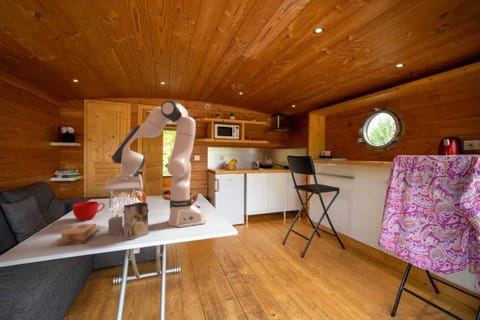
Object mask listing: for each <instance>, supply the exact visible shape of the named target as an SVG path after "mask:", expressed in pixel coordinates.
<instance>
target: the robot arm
mask: <svg viewBox="0 0 480 320" xmlns="http://www.w3.org/2000/svg"><path fill="white" fill-rule="evenodd" d="M169 122H171V123H174V124H176V131H175V136H174V137H175V138H174V143H173V147H172V151H171V154H170V157H169V161H168V164H167V166H166V169H167V172H168V173H169V175H170V176H171V177H172V178H171V183H170V199H169V210H170V211H169V212H170V213H169V219H168V222H167V225H168V226H171V227H176V228H186V227H192V226H199V225H204V224H206V223H207V218H206V217H205V216H204V215H203V214H204V213H203V211H202V210H201V208H199V207H198V206H197V205H195V204H194V203H195V200H194V199H193V198H191V196H190V194H191V174H192V163H191V162H190V160H191V156H192V152H193V149H194V145H195V144H194V143H195V138H196V127H197V126H196V120H195V119H194V118H193V117H191V116H190V112H189V111H188V108H186V107H185V106H183V105H182V104H180V103H178V102H177V101H175V100H169V99H167V100H165V101H163V103H162V104H161V105H160V106H155V107H154V108H153V109H152V110H151V112H150V113H149V115H148V116H147V117H146V119H145V121H144V122H143V123H141V124H139V125H138V124H137V125H135V126H134V127H133V128H132V129H131V130H130V132H128V133H127V134H126V136H125V137H124V138H123V139H122V141H121V142H120V143H119V144H118V145H117V146H116V147H115V148H114V149H113V150H112V152H111V156H110V157H111V160H112V162H113V163H116V164H119V165H120V171H119V174H118V177H116V178H115V177H111V178H108V179H107V180H106V182H105V185H104V187H103V190H104V192H105V193H106V194H107V193H110V194H111V196H110V197H111V199H115V198H116V194H115V193H124V192H125V193H127V192H128V193H129V198H133V197H134V195H136V193H137V192H142V191H144V190H143V189H144V182H143V176H142V175H141V174H140V173H136V172H139V171H140V170H142V169H143V168H144V166H145V163H146V158H145V156H144V154H141V153H139V152H137V151H133V150H131V149H128V148H129V146H131V144H132V143H133V141H134V140H136V139H137V138H148V139H149V138H150V139H153V138H157V137H159V136H160V135H161V134H162V132H163V131H164V129H165V127H167V126H166V125H167V124H168V123H169Z"/></svg>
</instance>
